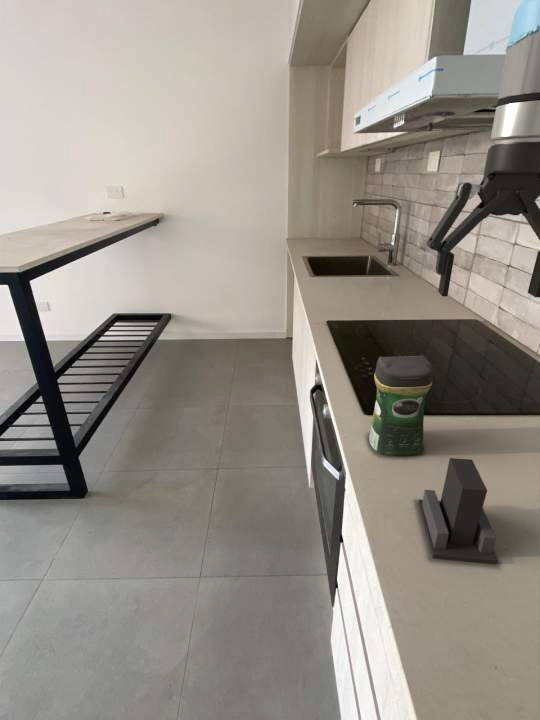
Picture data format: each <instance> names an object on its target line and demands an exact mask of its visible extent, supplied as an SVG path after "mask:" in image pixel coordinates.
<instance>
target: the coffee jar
mask: <svg viewBox="0 0 540 720" xmlns="http://www.w3.org/2000/svg"><path fill="white" fill-rule="evenodd" d="M432 366H433V365H432V364H431V362H430V360H428V358H426V356H425V355H422V354H421V355H407V356H406V355H404V356H378V358H377V361H376V366H375V371H374V373H373V374H374V376H373V378H374V383H375V386H376V397H375V403H374V410H373V414H372V418H371V423H370V426H369V427H370V428H369V435H368V440H369V444H370V446H371V447H372V449H373V450H374V451H375V453H377V454H379V455H381V456H386V457H408V456H415V455H418V454H419V453H421V451H422V450H423V446H424V422H425V421H424V419H425V418H424V417H425V404H426V399H427V395H428V393H429V391H430V389H431V387H432V386H433V367H432Z"/></svg>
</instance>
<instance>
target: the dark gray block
mask: <svg viewBox="0 0 540 720" xmlns="http://www.w3.org/2000/svg"><path fill="white" fill-rule="evenodd" d="M441 493H442V494H441V498H440V501H441V502H440V508H441V511H442V514H443V517H444V520H445V523H446V526H447V529H448V532H449V536H448V541H449V543H450V544H460V545H471V546H472V544H473V541H474V537H475V533H476V530H477V526H478V523H479V519H480V515H481V512H482V508H483V509H484V503H485V500H486V498H487V493H488V489H487V487H486V484H485V483H484V481H483V478H482V476H481V474H480V472H479V470H478V469H477V466H476V465H475V462H474V461H473V459H471V458H470V459H469V458H457V457H456V458H455V457H454V458H453V457H449V460H448V464H447V470H446V474H445V479H444V484H443V488H442V492H441Z"/></svg>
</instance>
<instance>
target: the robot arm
mask: <svg viewBox="0 0 540 720" xmlns="http://www.w3.org/2000/svg"><path fill="white" fill-rule="evenodd" d="M513 16H514V17H513V20H512V25H511V28H510V33H509V38H508V42H507V45H506V47H505V55H504V56H505V57H504V63H503V68H502V69H503V70H502V74H501V79H500V85H499V90H498V95H497V96H498V97H497V102H496V108H495V112H494V118H493V123H492V129H491V133H490V141H492V142H494V143H493V145H490V146H489V148H488V149H487V155H486V160H485V163H484V164H485V165H484V170H483V176H482V180H481V181H480V183H479V184H475V183H471V182H468V181H467V182H466V181H462V182H459V184H458V185H457V188H456V192H455V195H454V199H453V200H452V202H451V204H450V205H449V206H448V208H447V209H446V211H445V213H444V214H443V215H442V217H441V219H440V220H439V222H438V224H437V225H436V227H435V228H434V229H433V231H432V233H431V235H430V236H429V238H428V239H427V241H426V246H427V247H428V248H430V249H431V250H433V251H436V252H437V256H436V263H435V272H436V274H438V275H440V277H439V283H438V284H439V285H438V290H437V291H438V293H439V294H440V296H441V297H448V296H449V289H450V283H451V279H452V272H453V266H454V260H455V253H453V252H451V251H452V250H453V249H454V248H455V247H456V246H457V245H458V244H459V243H461V241H462V240H463V239H465V237H467V235H468V234H470V233H471V231H473V230H474V229H475V228H476V227H477V226H478V225H479V224H480V223H481V222H482V221H483V220H485V219H487V218H488V216H490V215H492V216H496V217H497V216H498V217H499V216H500V217H501V216H505V215H511V216H520V215H522V216H523V217H524V219H525V220H526V221H527V223H528V225H529V227H531V229H532V231H533V232H534V234H535V235H536V237H537V239H538V240H539V241H540V208H539V205H538V204H537V202H536V200H537V199H538V198H539V197H540V0H523V1H521V3H520V5H518V6H517V7H516V9H515V13H514V15H513ZM476 194H477V195H478V197H479V199H480V202H479V203H478V205H476V206H475V207H474V208H473V209H472V210H471V213H469V215H468V216H467V217H465V218H464V220H462V221H461V222H460V223H459V224H458V225H457V227H455V228H454V229H453V230H452V231H451V232H450V233H449V231H450V230H451V228H452V226H453V225H454V223H455V222H456V220H457V219H458V217H459V216H460V214H461V213H462V211H463V210H464V209H465V207H466V205H467V203H468V201H470V200H472V199H473V198H474V197H475V195H476ZM448 233H449V234H448ZM447 234H448V235H447ZM446 235H447V236H446ZM527 294H529V295H531V296H532V297H534V298H540V250H537V254H536V258H535V262H534V266H533V269H532V273H531V277H530V281H529V285H528V289H527Z"/></svg>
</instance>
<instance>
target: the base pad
mask: <svg viewBox="0 0 540 720" xmlns="http://www.w3.org/2000/svg"><path fill="white" fill-rule="evenodd" d="M423 491H424V492H423V496H422V499H418V501H417V505H418V509H419V512H420V516H421V520H422V524H423V528H424V531H425V536H426V540H427V543H428V547H429V550H430V555H431V558H432V559H435V560H443V561H445V560H446V561H454V562H455V561H456V562H463V563H464V562H465V563H475V564H484V565H485V564H486V565H496V563H497V559H496V556H495V553H494V552H493V549H494V546H495V543H496V541H497V536H496V534H495V532H494V530H493V528H492V526H491V523H490V521H489V518H488V517H487V515H486V512H485V510H484V507H483V508H482V512H481V515H480V519H479V523H478V526H477V530H476V533H475V537H474V541H473V544H472V546H471V545H460V544H450V543H449V541H448V536H449V532H448V529H447V526H446V523H445V520H444V517H443V514H442V511H441V508H440V502H441V500H439V499H438V497H437V493H436V490H433V489H424V490H423Z"/></svg>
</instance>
